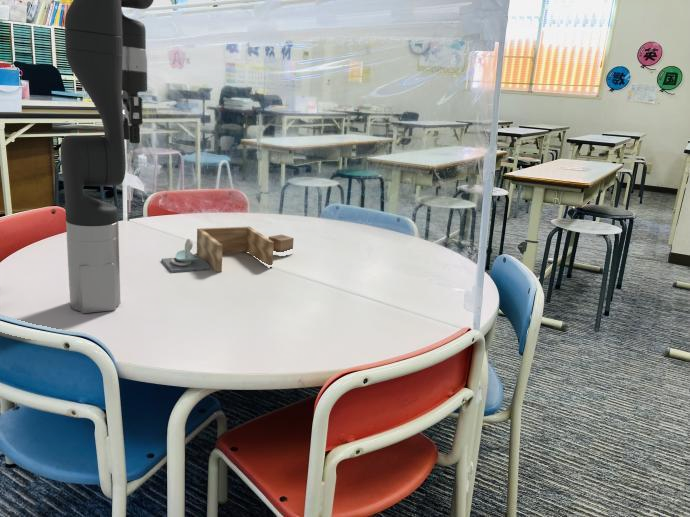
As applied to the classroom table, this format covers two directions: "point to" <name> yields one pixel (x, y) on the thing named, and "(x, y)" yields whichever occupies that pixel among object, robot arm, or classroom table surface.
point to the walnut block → (282, 243)
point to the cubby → (232, 244)
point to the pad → (194, 265)
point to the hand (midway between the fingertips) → (130, 141)
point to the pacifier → (184, 255)
